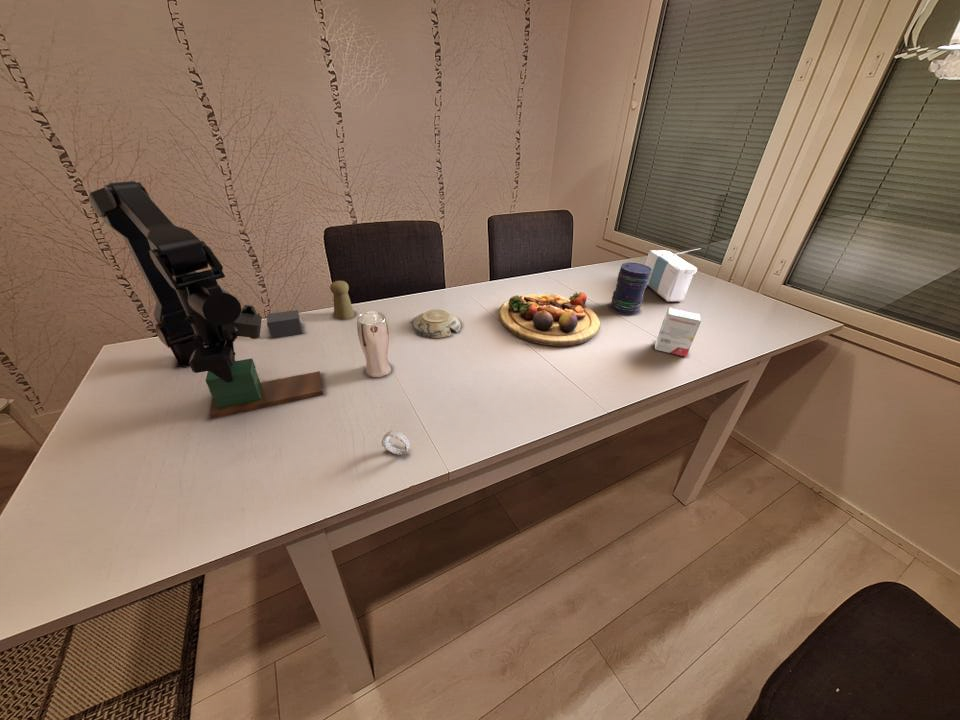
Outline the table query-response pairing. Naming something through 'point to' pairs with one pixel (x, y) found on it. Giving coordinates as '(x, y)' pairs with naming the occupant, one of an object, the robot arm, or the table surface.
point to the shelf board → (277, 393)
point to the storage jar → (630, 288)
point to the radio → (669, 274)
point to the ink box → (677, 332)
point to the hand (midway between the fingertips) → (231, 373)
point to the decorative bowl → (436, 324)
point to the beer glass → (374, 342)
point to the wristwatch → (399, 436)
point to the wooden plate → (550, 319)
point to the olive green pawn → (341, 300)
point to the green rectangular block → (234, 375)
